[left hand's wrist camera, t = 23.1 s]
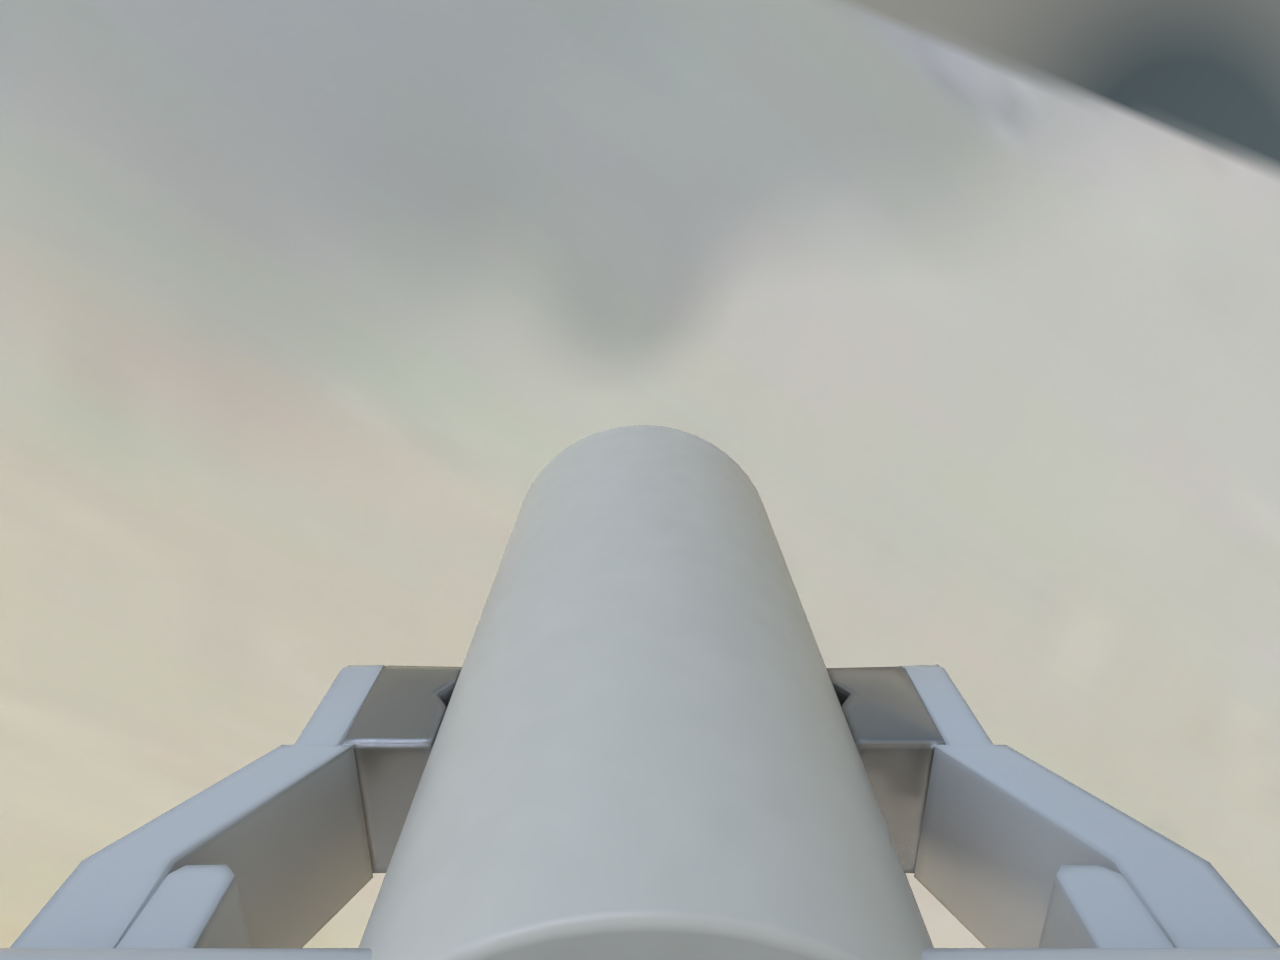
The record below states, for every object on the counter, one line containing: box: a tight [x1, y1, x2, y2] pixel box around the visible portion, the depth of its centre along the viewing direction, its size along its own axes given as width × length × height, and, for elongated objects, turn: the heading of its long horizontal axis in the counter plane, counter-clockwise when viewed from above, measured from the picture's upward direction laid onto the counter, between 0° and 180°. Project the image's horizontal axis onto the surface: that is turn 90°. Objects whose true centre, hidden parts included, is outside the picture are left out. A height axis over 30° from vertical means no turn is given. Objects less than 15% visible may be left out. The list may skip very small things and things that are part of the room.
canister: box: [359, 425, 934, 960], centre depth 10 cm, size 5×5×10 cm
